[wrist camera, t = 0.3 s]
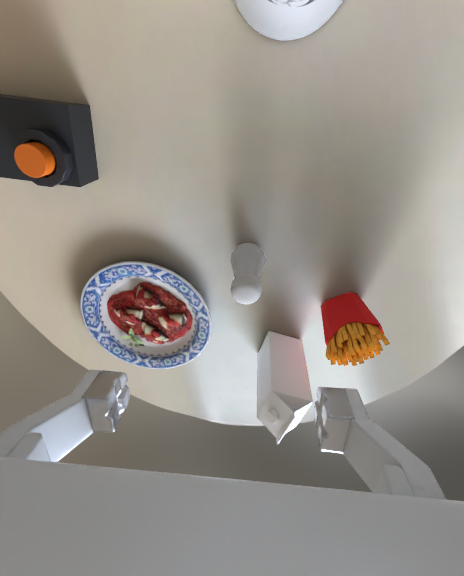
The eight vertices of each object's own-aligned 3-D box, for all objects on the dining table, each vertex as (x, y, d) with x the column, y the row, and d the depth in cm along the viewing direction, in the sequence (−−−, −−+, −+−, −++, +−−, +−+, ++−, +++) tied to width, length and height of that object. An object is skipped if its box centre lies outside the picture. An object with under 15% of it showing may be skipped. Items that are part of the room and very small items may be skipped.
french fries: (360, 286, 54) (386, 333, 42) (367, 304, 55) (394, 354, 44) (311, 306, 56) (323, 354, 45) (319, 322, 58) (334, 373, 47)
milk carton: (302, 339, 61) (317, 424, 44) (288, 363, 64) (298, 449, 48) (268, 329, 60) (271, 412, 44) (257, 354, 64) (256, 439, 48)
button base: (11, 168, 48) (-27, 177, 41) (-9, 93, 42) (-56, 90, 36) (98, 179, 47) (73, 190, 41) (89, 105, 42) (59, 104, 36)
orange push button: (29, 172, 41) (18, 175, 39) (21, 140, 39) (10, 141, 37) (58, 176, 41) (49, 179, 39) (52, 143, 39) (42, 145, 37)
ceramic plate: (146, 228, 51) (140, 235, 49) (239, 327, 60) (238, 337, 58) (59, 301, 61) (51, 310, 58) (151, 377, 70) (147, 387, 68)
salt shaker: (232, 268, 54) (225, 311, 43) (230, 238, 51) (222, 275, 40) (265, 268, 53) (267, 311, 42) (265, 237, 50) (267, 275, 39)
